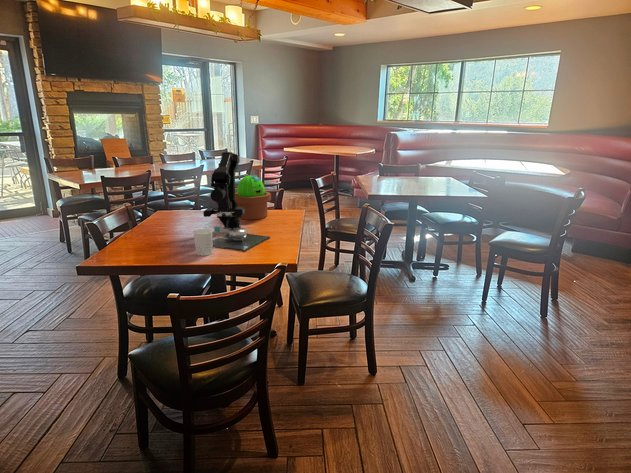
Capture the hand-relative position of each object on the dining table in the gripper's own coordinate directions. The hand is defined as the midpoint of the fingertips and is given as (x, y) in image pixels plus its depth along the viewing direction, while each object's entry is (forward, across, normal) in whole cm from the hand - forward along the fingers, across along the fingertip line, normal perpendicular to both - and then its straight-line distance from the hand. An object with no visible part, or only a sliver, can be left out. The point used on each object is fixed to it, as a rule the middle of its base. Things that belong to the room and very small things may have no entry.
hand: (226, 229), depth 199 cm
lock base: (+5, -7, +5) cm, 10 cm away
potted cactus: (+5, -6, -44) cm, 45 cm away
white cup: (+5, +5, +22) cm, 23 cm away
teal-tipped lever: (+2, -3, +3) cm, 5 cm away
